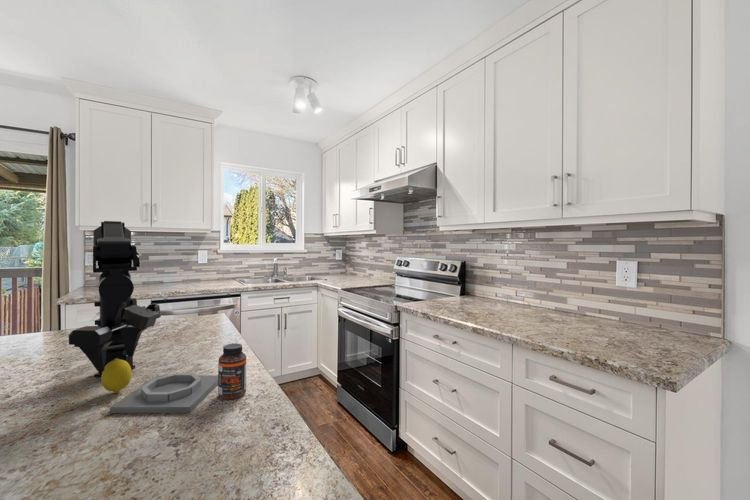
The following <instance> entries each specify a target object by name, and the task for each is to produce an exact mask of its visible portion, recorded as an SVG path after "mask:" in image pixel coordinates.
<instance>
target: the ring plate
mask: <svg viewBox="0 0 750 500" xmlns="http://www.w3.org/2000/svg"><path fill="white" fill-rule="evenodd" d="M216 387H218V374H215V375H214V374H211V375H209V374H206V375H205V374H204V375H201V374H200V375H199V374H198V375H197V374H196V373H187V372H186V373H184V372H183V373H179V372H178V373H172V374H168V375H166V374H163V375H159V374H158V375H157V376H155V377H153V378H152V379H150V380H149V381H147V382H146V383H144V384H143V385H141V386H140V387H138V388H137V389H134V391H132V392H131V393H129V394H128V395H126V396H125V397H123V398H122V399H120V400H118V401H117V402H116V403H114V404H113V405H111V406H109V414H183V413H184V414H187V413H188V414H189V413H191V412H192V411H193V410H194V409H195V408H197V406H198V405H199V404H200V403H201V402H202V401H203V400H204V399H205V398H206V397H207V396H208V395H210V394H211V393H212V392H213V390H215V389H216Z"/></svg>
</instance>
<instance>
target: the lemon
mask: <svg viewBox="0 0 750 500" xmlns="http://www.w3.org/2000/svg"><path fill="white" fill-rule="evenodd" d="M132 375H133V373H132V370H131V367H130V365H129V363H128V362H126V361H124V360H121V359H118V358H116V359H114V360H113V361H111V362H109V363H108V364H107V365H106V366H105V369H104V371H103V372H102V376H101V377H100V382H101V385H102V387H103V388H104V390H106V391H108V392H113V393H114V394H119V393H120V392H121V390H123V389H125V388H126V387H127V386H128V385H129V384H130V382H131V379H132Z"/></svg>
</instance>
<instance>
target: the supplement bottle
mask: <svg viewBox="0 0 750 500" xmlns="http://www.w3.org/2000/svg"><path fill="white" fill-rule="evenodd" d="M222 350H223V351H222V352H223V353H222V354H221V355H220V356H219V358H218V364H217V366H218V367H217V368H218V371H217V372H218V374H217V375H218V385H217V390H218V391H217V393H218V395H217V396H218V397H219V398H220V399H222V400H230V401H231V400H235V399H239V398H241V397H243V396H245V394H246V393H247V355H246V354H245V352H243V345H242V344H241V343H238V342H237V343H235V342H234V343H228V344H225V345H223V347H222Z"/></svg>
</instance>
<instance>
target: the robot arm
mask: <svg viewBox="0 0 750 500" xmlns="http://www.w3.org/2000/svg"><path fill="white" fill-rule="evenodd" d="M92 237H93V238H92V239H93V241H92V242H93V245H92V273H100V275H99V276H98V294H99V295H98V297H99V300H96V301H94V303H93V304H94V307H95V308H96V307H98V308H99V318H98V319H94V325H86V326H82V327H80V328H76V329H73V330H72V331H71V332H70V333H69V334H68V345H69V346H70V345H71V346H72V345H73V346H74V347H75V348H79V349H80V350H81V351H82V353H83V354H84V355H85V356H86V357H87V358H88V360H89V361H90V363H91V364H92V365H93V367H94V368H95V369H96V371H97V372H96V373H95V374H93V377H94V378H95V377H98V378H99V377H100V378H101V376H102V372H103V371H104V369H105V366H106V365H107V364H108V363H109V362H111V361H113V360H114V359H116V358H118V359H121V360H124V361H126V362H128V363H129V365H130V367H131V371H132V370H134V369H135V368H136V365H134V355H135V351H136V349H137V347H138V343H139V341H140V338H141V335H142V333H143V332H144V331H145V330H147V329H148V328H151V327H155V324H156V323H157V322H156V321H157V319H160V318H161V308H160V304H157V303H155V302H154V303H150V304H148V305H147V306H145V305H143V306H140V305H138V300H137V298H133V297H132V295H133V293H134V289H135V286H134V283H133V281H132V276H131V275H132V274H130V272H137V271H138V268H140V265H141V263H140V253H139V249H137V246H136V245H133V242H132V231H131V230H130V229H129V228H127V227H125V222H122V221H117V220H115V221H113V220H104V221H100V226H98V227H97V228H95V229H93V235H92Z"/></svg>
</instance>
